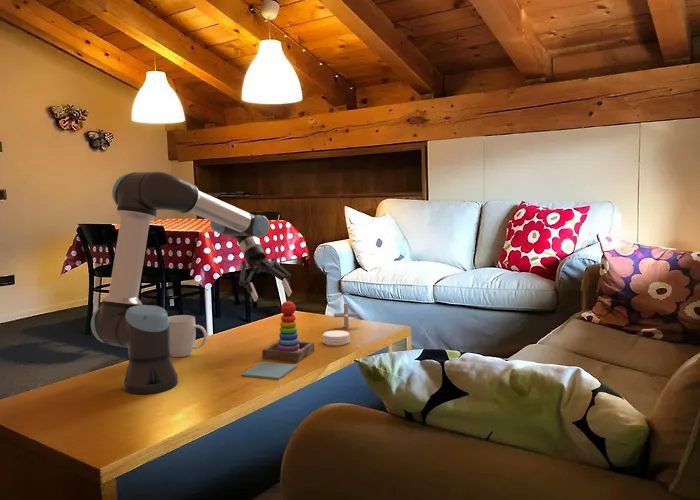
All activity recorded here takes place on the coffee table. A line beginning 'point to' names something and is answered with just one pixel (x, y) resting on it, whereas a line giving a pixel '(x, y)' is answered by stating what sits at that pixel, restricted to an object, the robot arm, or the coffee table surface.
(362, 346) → the coffee table surface
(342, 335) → the white coaster stack
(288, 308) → the stacking toy
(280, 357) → the tray
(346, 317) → the pipe connector
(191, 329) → the mug
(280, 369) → the mat
